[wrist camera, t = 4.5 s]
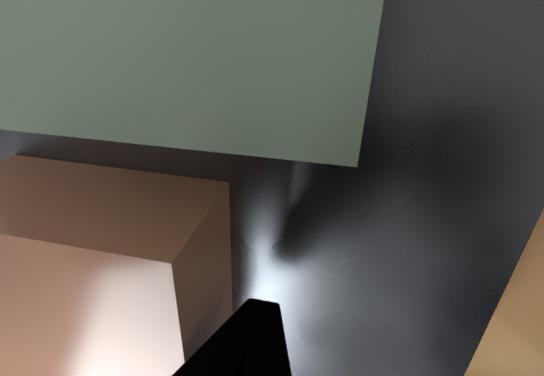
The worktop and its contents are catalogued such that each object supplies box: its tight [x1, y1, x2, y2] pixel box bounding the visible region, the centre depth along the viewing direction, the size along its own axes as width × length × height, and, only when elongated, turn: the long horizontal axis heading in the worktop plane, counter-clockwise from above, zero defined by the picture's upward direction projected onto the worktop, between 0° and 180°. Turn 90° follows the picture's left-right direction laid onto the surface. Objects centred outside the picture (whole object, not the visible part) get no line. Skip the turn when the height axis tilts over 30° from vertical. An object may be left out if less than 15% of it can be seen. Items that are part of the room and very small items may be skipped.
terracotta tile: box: [0, 155, 233, 376], centre depth 9 cm, size 6×6×3 cm
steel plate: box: [0, 0, 544, 376], centre depth 9 cm, size 16×14×3 cm
